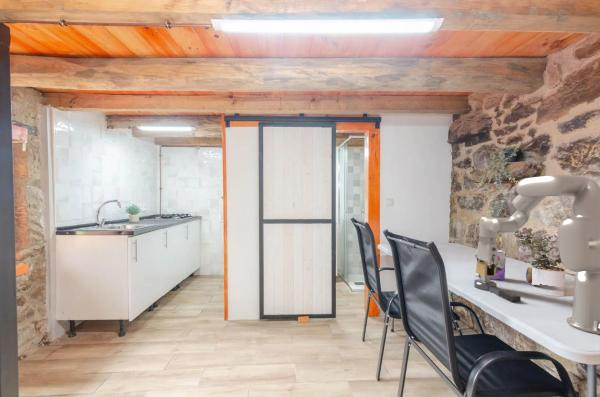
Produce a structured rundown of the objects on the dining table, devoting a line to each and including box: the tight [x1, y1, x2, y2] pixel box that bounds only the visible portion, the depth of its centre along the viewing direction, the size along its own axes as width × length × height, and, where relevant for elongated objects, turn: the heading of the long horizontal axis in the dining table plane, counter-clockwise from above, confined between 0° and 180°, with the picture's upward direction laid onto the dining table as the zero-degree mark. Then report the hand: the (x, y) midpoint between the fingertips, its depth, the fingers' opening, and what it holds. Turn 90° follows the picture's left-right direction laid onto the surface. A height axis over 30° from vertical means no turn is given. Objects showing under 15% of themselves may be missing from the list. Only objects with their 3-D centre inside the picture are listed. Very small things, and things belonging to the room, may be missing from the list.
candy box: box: [474, 249, 507, 281], centre depth 177 cm, size 14×6×16 cm, turn 76°
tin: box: [525, 267, 533, 285], centre depth 167 cm, size 15×3×8 cm, turn 160°
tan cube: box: [475, 261, 496, 277], centre depth 158 cm, size 6×6×6 cm
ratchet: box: [474, 275, 522, 303], centre depth 151 cm, size 25×10×7 cm, turn 6°
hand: (485, 273), depth 158 cm, fingers closed on tan cube, 6 cm apart
